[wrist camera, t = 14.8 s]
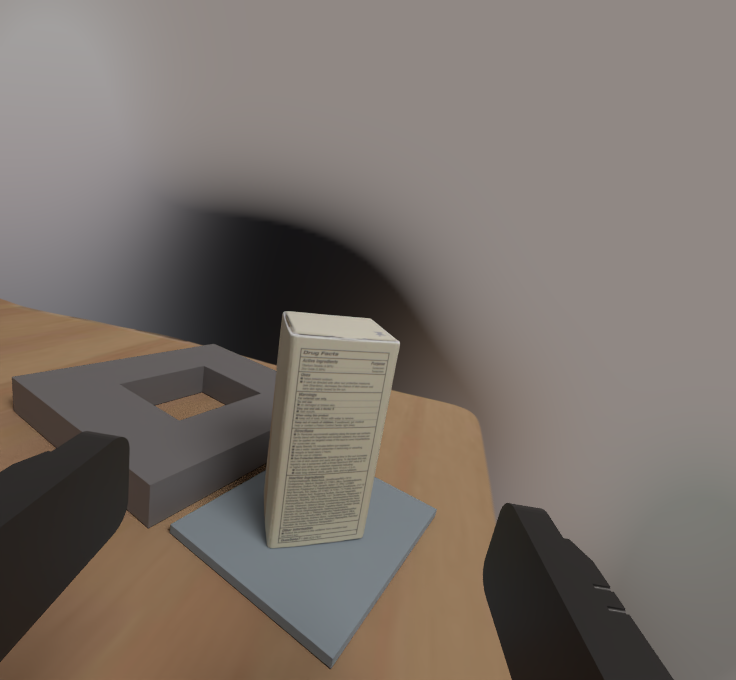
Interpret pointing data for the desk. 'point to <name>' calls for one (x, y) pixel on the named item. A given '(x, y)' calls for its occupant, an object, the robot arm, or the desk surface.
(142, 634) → the desk surface
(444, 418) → the desk surface
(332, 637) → the pad
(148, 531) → the desk surface
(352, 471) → the box
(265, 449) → the socket block
